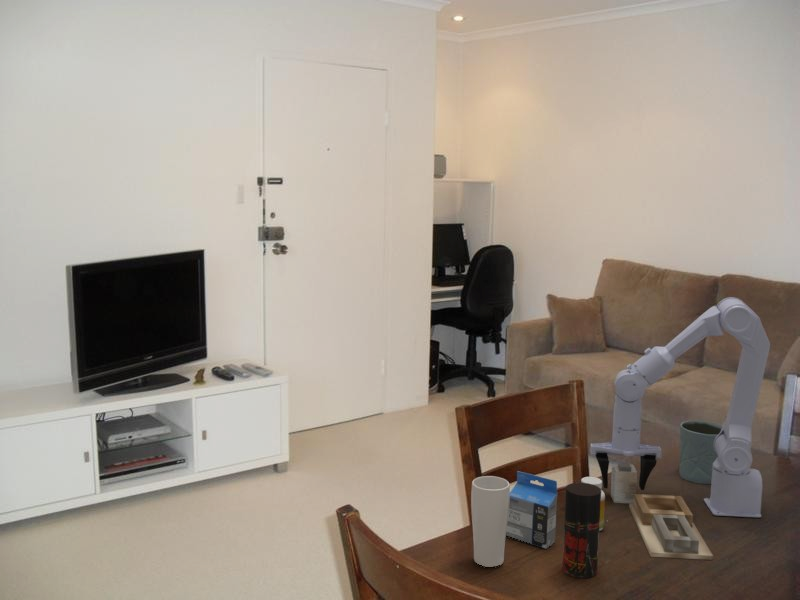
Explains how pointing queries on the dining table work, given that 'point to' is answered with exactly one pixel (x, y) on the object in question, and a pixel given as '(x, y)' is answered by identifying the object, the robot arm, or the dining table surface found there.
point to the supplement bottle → (598, 483)
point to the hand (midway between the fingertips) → (623, 487)
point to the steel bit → (623, 483)
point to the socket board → (668, 527)
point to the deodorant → (581, 530)
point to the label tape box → (533, 510)
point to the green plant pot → (697, 450)
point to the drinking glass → (489, 519)
